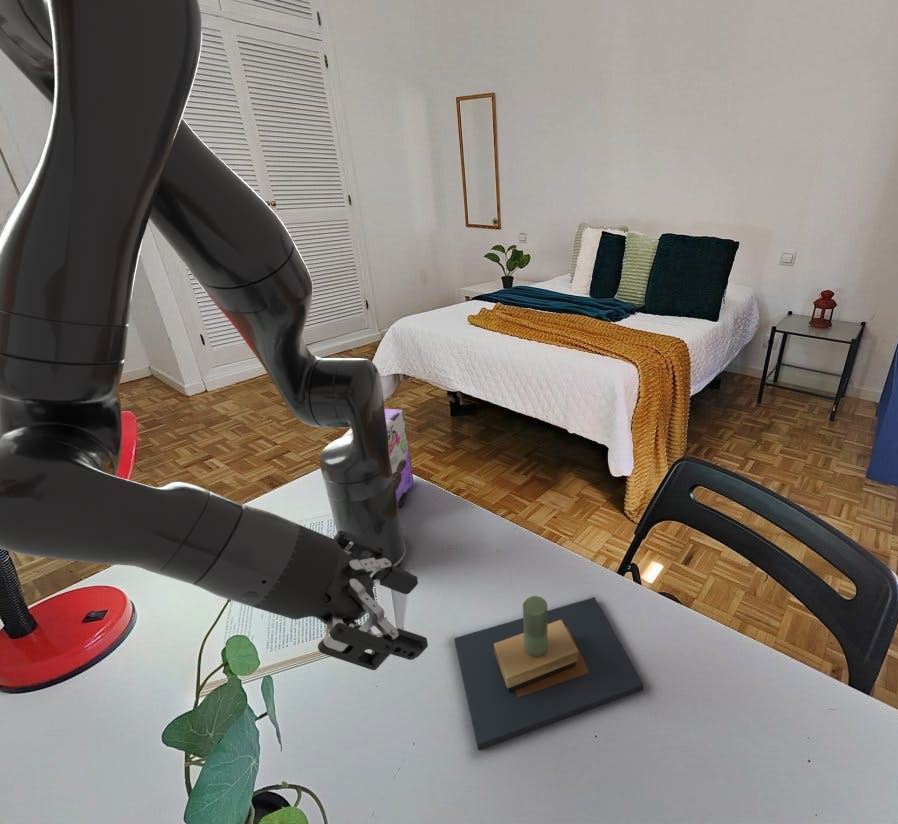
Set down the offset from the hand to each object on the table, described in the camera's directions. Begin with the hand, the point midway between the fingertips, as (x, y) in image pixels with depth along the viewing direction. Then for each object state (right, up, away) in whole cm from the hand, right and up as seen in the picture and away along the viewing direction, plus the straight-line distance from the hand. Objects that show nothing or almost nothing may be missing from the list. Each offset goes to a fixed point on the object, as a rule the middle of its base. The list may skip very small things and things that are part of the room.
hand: (417, 615), depth 53 cm
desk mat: (+13, -10, +9) cm, 19 cm away
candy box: (-16, +5, +38) cm, 42 cm away
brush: (+12, -9, +8) cm, 17 cm away
